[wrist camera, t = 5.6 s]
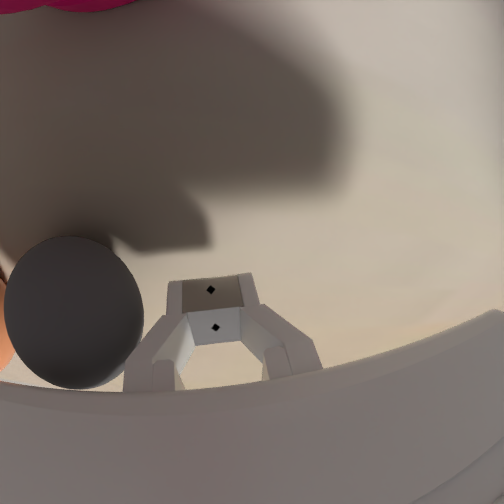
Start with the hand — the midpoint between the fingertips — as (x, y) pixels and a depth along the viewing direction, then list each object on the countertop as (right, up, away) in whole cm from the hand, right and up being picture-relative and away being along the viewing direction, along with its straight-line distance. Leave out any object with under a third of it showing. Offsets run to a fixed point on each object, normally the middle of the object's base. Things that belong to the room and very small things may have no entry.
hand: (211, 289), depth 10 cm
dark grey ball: (-5, -1, -2) cm, 5 cm away
